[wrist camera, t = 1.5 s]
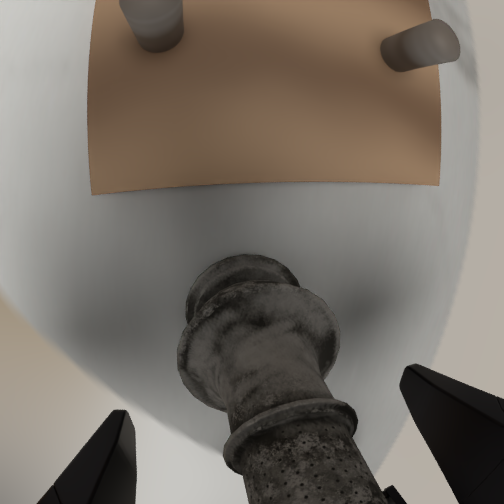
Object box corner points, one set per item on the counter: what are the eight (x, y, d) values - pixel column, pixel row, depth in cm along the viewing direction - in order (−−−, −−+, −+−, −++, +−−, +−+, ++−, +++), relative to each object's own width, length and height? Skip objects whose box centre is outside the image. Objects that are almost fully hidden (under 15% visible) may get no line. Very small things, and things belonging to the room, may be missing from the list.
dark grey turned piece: (151, 296, 13) (121, 617, 1) (269, 220, 12) (523, 496, 1) (226, 379, 15) (283, 612, 4) (327, 319, 15) (476, 527, 3)
